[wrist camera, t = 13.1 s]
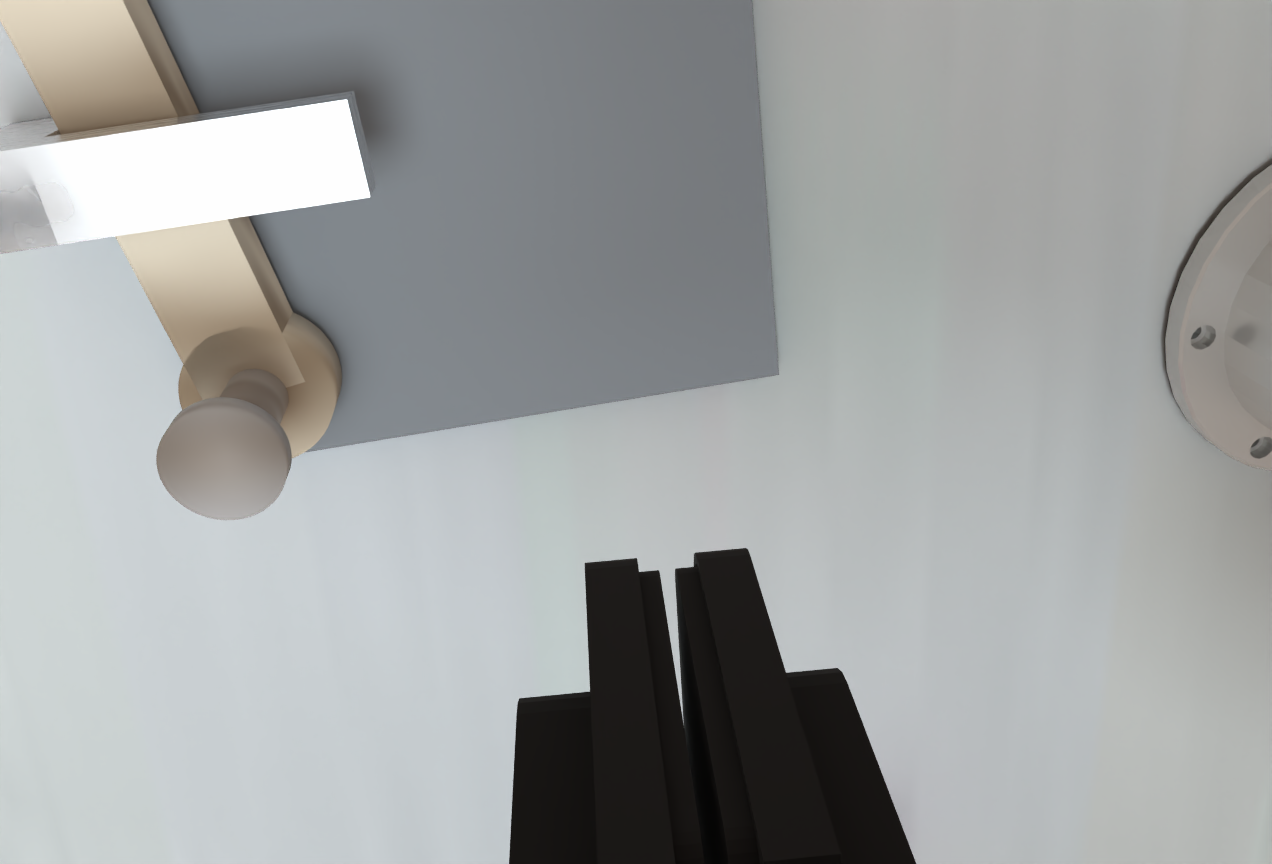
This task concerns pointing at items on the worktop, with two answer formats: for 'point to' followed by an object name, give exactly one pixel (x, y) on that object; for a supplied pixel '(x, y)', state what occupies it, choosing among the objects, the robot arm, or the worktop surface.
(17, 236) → the keeper
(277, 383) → the link
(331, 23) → the base plate
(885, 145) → the worktop surface
